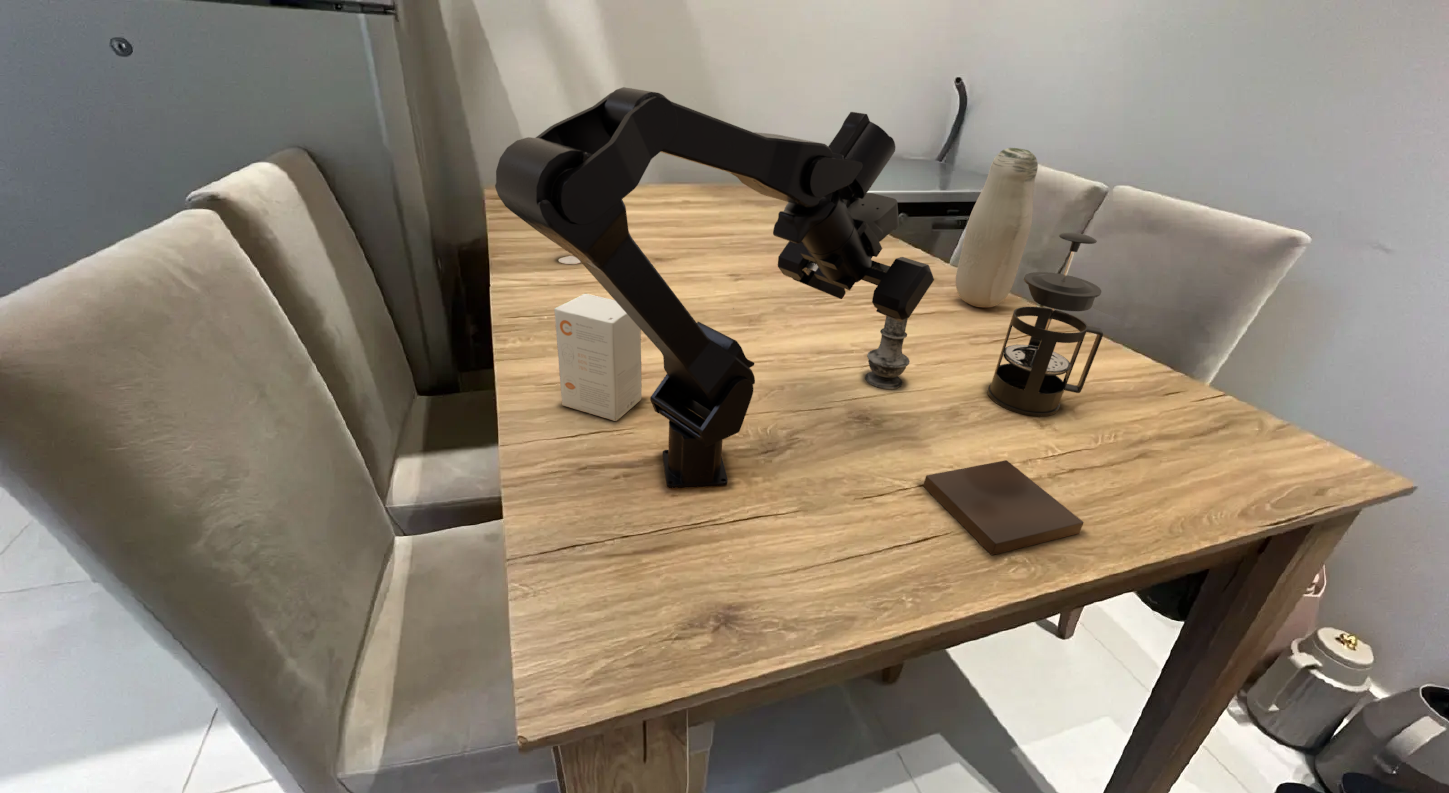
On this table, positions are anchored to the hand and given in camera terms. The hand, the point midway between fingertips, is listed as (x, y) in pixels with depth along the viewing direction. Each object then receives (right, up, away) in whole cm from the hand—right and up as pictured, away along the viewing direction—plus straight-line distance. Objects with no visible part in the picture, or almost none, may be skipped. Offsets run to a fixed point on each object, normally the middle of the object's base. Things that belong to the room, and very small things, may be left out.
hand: (871, 306), depth 80 cm
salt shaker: (+4, -9, +10) cm, 15 cm away
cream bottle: (+30, +6, +41) cm, 51 cm away
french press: (+23, -12, +8) cm, 27 cm away
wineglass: (-50, +16, +48) cm, 72 cm away
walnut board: (+10, -23, -14) cm, 29 cm away
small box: (-34, -12, 0) cm, 36 cm away
